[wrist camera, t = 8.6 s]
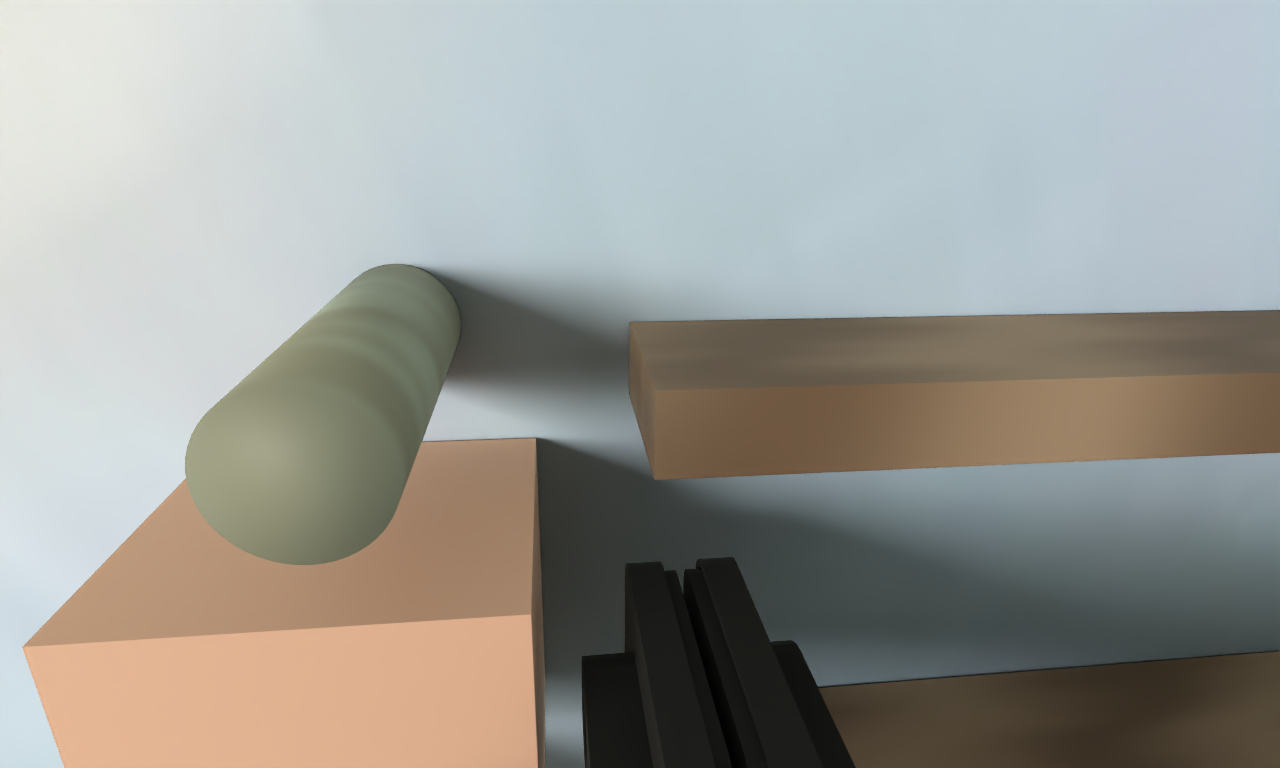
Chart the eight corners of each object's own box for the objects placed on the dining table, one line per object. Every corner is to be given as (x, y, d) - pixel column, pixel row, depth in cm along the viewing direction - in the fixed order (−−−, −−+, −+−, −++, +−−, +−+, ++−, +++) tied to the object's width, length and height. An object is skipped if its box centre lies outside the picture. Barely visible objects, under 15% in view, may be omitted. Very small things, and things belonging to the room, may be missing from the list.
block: (536, 438, 12) (531, 614, 8) (545, 679, 14) (544, 927, 10) (213, 449, 11) (23, 647, 7) (266, 700, 13) (137, 974, 9)
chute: (1612, 253, 13) (2185, 333, 9) (1388, 714, 17) (1702, 940, 12) (330, 264, 11) (166, 386, 6) (403, 805, 14) (336, 1135, 10)
